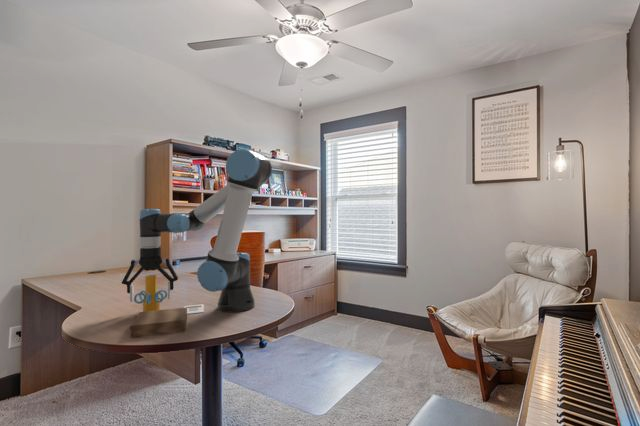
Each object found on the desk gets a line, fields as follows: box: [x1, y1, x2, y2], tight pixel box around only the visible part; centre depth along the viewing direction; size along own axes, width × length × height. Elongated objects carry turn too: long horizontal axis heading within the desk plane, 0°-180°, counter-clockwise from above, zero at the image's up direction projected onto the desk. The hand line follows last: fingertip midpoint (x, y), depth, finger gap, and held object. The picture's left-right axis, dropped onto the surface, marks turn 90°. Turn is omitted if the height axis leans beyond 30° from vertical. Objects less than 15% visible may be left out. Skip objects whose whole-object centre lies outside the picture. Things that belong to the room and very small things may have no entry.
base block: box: [130, 307, 188, 339], centre depth 116 cm, size 16×16×4 cm
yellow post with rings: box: [133, 274, 168, 312], centre depth 134 cm, size 12×10×15 cm
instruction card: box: [183, 303, 205, 315], centre depth 138 cm, size 8×12×1 cm, turn 19°
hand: (150, 299), depth 134 cm, fingers open, 13 cm apart
